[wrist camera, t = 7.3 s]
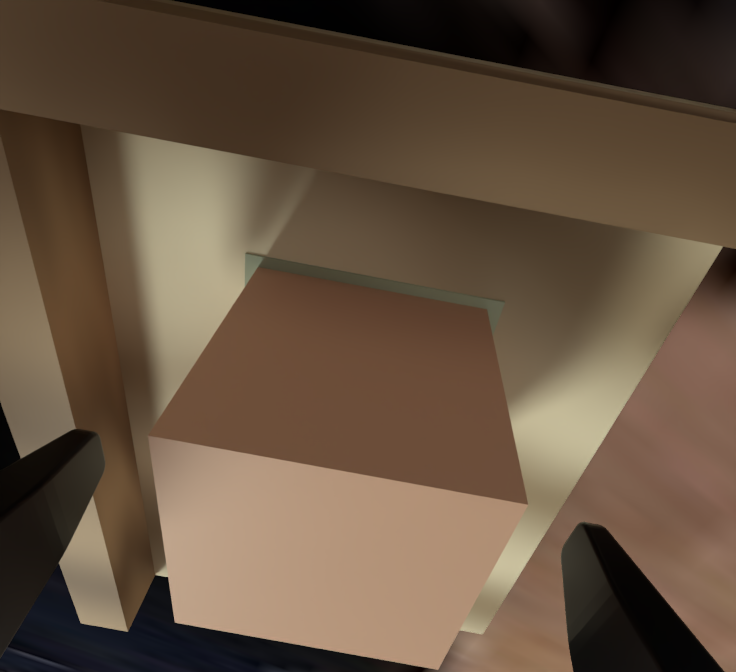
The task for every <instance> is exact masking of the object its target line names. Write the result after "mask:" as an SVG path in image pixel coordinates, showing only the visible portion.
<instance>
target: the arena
mask: <svg viewBox="0 0 736 672" xmlns="http://www.w3.org/2000/svg"><path fill="white" fill-rule="evenodd" d="M722 247H728V248H734V249H736V109H732V108H727V107H722V106H717V105H712V104H707V103H701V102H696V101H691V100H686V99H681V98H675V97H670V96H665V95H660V94H655V93H649V92H644V91H639V90H634V89H629V88H624V87H618V86H613V85H608V84H603V83H598V82H592V81H587V80H582V79H577V78H572V77H566V76H561V75H556V74H551V73H546V72H541V71H535V70H530V69H525V68H520V67H515V66H509V65H504V64H499V63H494V62H489V61H483V60H478V59H473V58H468V57H463V56H457V55H452V54H447V53H442V52H437V51H432V50H426V49H421V48H416V47H411V46H406V45H400V44H395V43H390V42H385V41H380V40H374V39H369V38H364V37H359V36H354V35H349V34H343V33H338V32H333V31H328V30H323V29H317V28H312V27H307V26H302V25H297V24H291V23H286V22H281V21H276V20H271V19H266V18H260V17H255V16H250V15H245V14H240V13H234V12H229V11H224V10H219V9H214V8H208V7H203V6H198V5H193V4H188V3H183V2H177V1H172V0H0V402H1V405H2V408H3V411H4V413H5V416H6V419H7V422H8V424H9V427H10V430H11V433H12V435H13V438H14V441H15V444H16V446H17V449H18V452H19V455H20V457H21V458H23V457H25V456H26V455H28V454H30V453H32V452H33V451H35V450H37V449H39V448H40V447H42V446H44V445H46V444H48V443H49V442H51V441H53V440H55V439H56V438H58V437H60V436H62V435H63V434H65V433H67V432H69V431H71V430H73V429H83V430H88V431H94V432H97V433H98V434H99V435H100V438H101V443H102V447H103V452H104V457H105V470H104V473H103V475H102V477H101V479H100V482H99V484H98V486H97V488H96V490H95V492H94V494H93V496H92V498H91V500H90V502H89V504H88V506H87V509H86V511H85V513H84V515H83V517H82V519H81V521H80V523H79V525H78V527H77V529H76V531H75V533H74V535H73V538H72V540H71V542H70V543H69V545H68V547H67V549H66V551H65V553H64V555H63V557H62V558H61V560H60V562H59V564H60V567H61V570H62V573H63V575H64V578H65V581H66V584H67V586H68V589H69V592H70V595H71V597H72V600H73V603H74V606H75V608H76V611H77V614H78V617H79V619H80V622H81V623H83V624H88V625H94V626H99V627H105V628H110V629H116V630H121V631H127V632H128V630H129V628H130V626H131V624H132V622H133V620H134V618H135V616H136V614H137V611H138V609H139V607H140V605H141V603H142V601H143V599H144V597H145V595H146V593H147V591H148V588H149V586H150V584H151V582H152V580H153V578H154V576H155V575H159V576H165V577H168V571H167V564H166V558H165V551H164V544H163V537H162V530H161V523H160V516H159V509H158V502H157V495H156V489H155V482H154V475H153V468H152V461H151V454H150V447H149V440H148V435H149V433H150V431H151V430H152V428H153V427H154V425H155V424H156V422H157V421H158V419H159V418H160V416H161V415H162V413H163V412H164V410H165V408H166V407H167V405H168V404H169V402H170V401H171V399H172V398H173V396H174V395H175V393H176V392H177V390H178V389H179V387H180V386H181V384H182V382H183V381H184V379H185V378H186V376H187V375H188V373H189V372H190V370H191V369H192V367H193V366H194V364H195V363H196V361H197V359H198V358H199V356H200V355H201V353H202V352H203V350H204V349H205V347H206V346H207V344H208V343H209V341H210V340H211V338H212V337H213V335H214V333H215V332H216V330H217V329H218V327H219V326H220V324H221V323H222V321H223V320H224V318H225V317H226V315H227V314H228V312H229V310H230V309H231V307H232V306H233V304H234V303H235V301H236V300H237V298H238V297H239V295H240V294H241V292H242V291H243V289H244V288H245V286H246V284H247V283H248V281H249V280H250V278H251V277H252V275H253V274H254V272H255V271H256V269H257V268H258V267H261V268H266V269H272V270H277V271H283V272H288V273H293V274H299V275H304V276H310V277H315V278H320V279H326V280H331V281H337V282H342V283H348V284H353V285H358V286H364V287H369V288H375V289H380V290H385V291H391V292H396V293H402V294H407V295H413V296H418V297H423V298H429V299H434V300H440V301H445V302H450V303H456V304H461V305H467V306H472V307H478V308H483V309H487V312H488V316H489V321H490V326H491V331H492V335H493V340H494V345H495V349H496V354H497V359H498V364H499V368H500V373H501V378H502V383H503V387H504V392H505V397H506V401H507V406H508V411H509V416H510V420H511V425H512V430H513V435H514V439H515V444H516V449H517V453H518V458H519V463H520V468H521V472H522V477H523V482H524V486H525V491H526V496H527V501H528V506H527V508H526V510H525V512H524V514H523V516H522V517H521V519H520V521H519V523H518V525H517V526H516V528H515V530H514V532H513V534H512V536H511V537H510V539H509V541H508V543H507V545H506V547H505V548H504V550H503V552H502V554H501V556H500V557H499V559H498V561H497V563H496V565H495V567H494V568H493V570H492V572H491V574H490V576H489V577H488V579H487V581H486V583H485V585H484V587H483V588H482V590H481V592H480V594H479V596H478V598H477V599H476V601H475V603H474V605H473V607H472V608H471V610H470V612H469V614H468V616H467V618H466V619H465V621H464V623H463V625H462V627H461V629H460V630H462V631H467V632H473V633H478V634H483V633H484V631H485V630H486V628H487V626H488V625H489V623H490V622H491V620H492V618H493V617H494V615H495V614H496V612H497V610H498V609H499V607H500V605H501V604H502V602H503V601H504V599H505V597H506V596H507V594H508V593H509V591H510V589H511V588H512V586H513V585H514V583H515V581H516V580H517V578H518V576H519V575H520V573H521V572H522V570H523V568H524V567H525V565H526V564H527V562H528V560H529V559H530V557H531V555H532V554H533V552H534V551H535V549H536V547H537V546H538V544H539V543H540V541H541V539H542V538H543V536H544V535H545V533H546V531H547V530H548V528H549V526H550V525H551V523H552V522H553V520H554V518H555V517H556V515H557V514H558V512H559V510H560V509H561V507H562V505H563V504H564V502H565V501H566V499H567V497H568V496H569V494H570V493H571V491H572V489H573V488H574V486H575V485H576V483H577V481H578V480H579V478H580V476H581V475H582V473H583V472H584V470H585V468H586V467H587V465H588V464H589V462H590V460H591V459H592V457H593V455H594V454H595V452H596V451H597V449H598V447H599V446H600V444H601V443H602V441H603V439H604V438H605V436H606V435H607V433H608V431H609V430H610V428H611V426H612V425H613V423H614V422H615V420H616V418H617V417H618V415H619V414H620V412H621V410H622V409H623V407H624V405H625V404H626V402H627V401H628V399H629V397H630V396H631V394H632V393H633V391H634V389H635V388H636V386H637V385H638V383H639V381H640V380H641V378H642V376H643V375H644V373H645V372H646V370H647V368H648V367H649V365H650V364H651V362H652V360H653V359H654V357H655V355H656V354H657V352H658V351H659V349H660V347H661V346H662V344H663V343H664V341H665V339H666V338H667V336H668V335H669V333H670V331H671V330H672V328H673V326H674V325H675V323H676V322H677V320H678V318H679V317H680V315H681V314H682V312H683V310H684V309H685V307H686V305H687V304H688V302H689V301H690V299H691V297H692V296H693V294H694V293H695V291H696V289H697V288H698V286H699V285H700V283H701V281H702V280H703V278H704V276H705V275H706V273H707V272H708V270H709V268H710V267H711V265H712V264H713V262H714V260H715V259H716V257H717V255H718V254H719V252H720V251H721V249H722Z"/></svg>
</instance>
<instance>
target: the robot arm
mask: <svg viewBox="0 0 736 672" xmlns="http://www.w3.org/2000/svg"><path fill="white" fill-rule="evenodd" d="M104 470H105V457H104V452H103V447H102V443H101V438H100V435H99V434H98V433H97V432H94V431H88V430H83V429H73V430H71V431H69V432H67V433H65V434H63V435H62V436H60V437H58V438H56V439H55V440H53V441H51V442H49V443H48V444H46V445H44V446H42V447H40V448H39V449H37V450H35V451H33V452H32V453H30V454H28V455H26V456H25V457H23V458H21V459H19V460H18V461H16V462H14V463H12V464H11V465H9V466H7V467H5V468H4V469H2V470H0V658H1V656H2V654H3V653H4V651H5V650H6V648H7V646H8V645H9V643H10V641H11V640H12V638H13V637H14V635H15V633H16V632H17V630H18V628H19V627H20V625H21V624H22V622H23V620H24V619H25V617H26V615H27V614H28V612H29V611H30V609H31V607H32V606H33V604H34V602H35V601H36V599H37V598H38V596H39V594H40V593H41V591H42V589H43V588H44V586H45V585H46V583H47V581H48V580H49V578H50V576H51V575H52V573H53V572H54V570H55V568H56V567H57V565H58V563H59V562H60V560H61V558H62V557H63V555H64V553H65V551H66V549H67V547H68V545H69V543H70V542H71V540H72V538H73V535H74V533H75V531H76V529H77V527H78V525H79V523H80V521H81V519H82V517H83V515H84V513H85V511H86V509H87V506H88V504H89V502H90V500H91V498H92V496H93V494H94V492H95V490H96V488H97V486H98V484H99V482H100V479H101V477H102V475H103V473H104ZM561 564H562V575H563V587H564V599H565V611H566V623H567V633H568V642H569V649H570V655H571V661H572V666H573V671H574V672H724V671H723V669H722V668H721V667H720V666H719V665H718V663H717V662H716V661H715V660H714V659H713V657H712V656H711V655H710V654H709V652H708V651H707V650H706V649H705V648H704V646H703V645H702V644H701V643H700V642H699V640H698V639H697V638H696V637H695V635H694V634H693V633H692V632H691V631H690V629H689V628H688V627H687V626H686V625H685V623H684V622H683V621H682V620H681V619H680V617H679V616H678V615H677V614H676V612H675V611H674V610H673V609H672V608H671V606H670V605H669V604H668V603H667V602H666V600H665V599H664V598H663V597H662V595H661V594H660V593H659V592H658V591H657V589H656V588H655V587H654V586H653V585H652V583H651V582H650V581H649V580H648V579H647V577H646V576H645V575H644V574H643V572H642V571H641V570H640V569H639V568H638V566H637V565H636V564H635V563H634V562H633V560H632V559H631V558H630V557H629V555H628V554H627V553H626V552H625V551H624V549H623V548H622V547H621V546H620V545H619V543H618V542H617V541H616V540H615V539H614V537H613V536H612V535H611V534H610V532H609V531H608V530H607V529H606V528H605V527H603V526H601V525H598V524H592V523H587V522H581V523H579V524H578V525H577V526H576V528H575V529H574V531H573V532H572V533H571V535H570V536H569V538H568V539H567V541H566V542H565V544H564V546H563V548H562V552H561Z"/></svg>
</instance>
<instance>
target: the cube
mask: <svg viewBox="0 0 736 672" xmlns="http://www.w3.org/2000/svg"><path fill="white" fill-rule="evenodd" d="M148 440H149V447H150V454H151V461H152V468H153V475H154V482H155V489H156V495H157V502H158V509H159V516H160V523H161V530H162V537H163V544H164V551H165V558H166V564H167V571H168V578H169V585H170V592H171V599H172V606H173V613H174V620H175V623H181V624H186V625H192V626H197V627H203V628H208V629H214V630H220V631H225V632H231V633H236V634H242V635H247V636H253V637H259V638H264V639H270V640H275V641H281V642H286V643H292V644H298V645H303V646H309V647H314V648H320V649H326V650H331V651H337V652H342V653H348V654H353V655H359V656H365V657H370V658H376V659H381V660H387V661H392V662H398V663H404V664H409V665H415V666H420V667H426V668H431V669H437V670H438V669H439V667H440V665H441V663H442V661H443V660H444V658H445V656H446V654H447V652H448V650H449V649H450V647H451V645H452V643H453V641H454V639H455V638H456V636H457V634H458V632H459V630H460V629H461V627H462V625H463V623H464V621H465V619H466V618H467V616H468V614H469V612H470V610H471V608H472V607H473V605H474V603H475V601H476V599H477V598H478V596H479V594H480V592H481V590H482V588H483V587H484V585H485V583H486V581H487V579H488V577H489V576H490V574H491V572H492V570H493V568H494V567H495V565H496V563H497V561H498V559H499V557H500V556H501V554H502V552H503V550H504V548H505V547H506V545H507V543H508V541H509V539H510V537H511V536H512V534H513V532H514V530H515V528H516V526H517V525H518V523H519V521H520V519H521V517H522V516H523V514H524V512H525V510H526V508H527V506H528V501H527V496H526V491H525V486H524V482H523V477H522V472H521V468H520V463H519V458H518V453H517V449H516V444H515V439H514V435H513V430H512V425H511V420H510V416H509V411H508V406H507V401H506V397H505V392H504V387H503V383H502V378H501V373H500V368H499V364H498V359H497V354H496V349H495V345H494V340H493V335H492V331H491V326H490V321H489V316H488V312H487V309H483V308H478V307H472V306H467V305H461V304H456V303H450V302H445V301H440V300H434V299H429V298H423V297H418V296H413V295H407V294H402V293H396V292H391V291H385V290H380V289H375V288H369V287H364V286H358V285H353V284H348V283H342V282H337V281H331V280H326V279H320V278H315V277H310V276H304V275H299V274H293V273H288V272H283V271H277V270H272V269H266V268H261V267H258V268H257V269H256V271H255V272H254V274H253V275H252V277H251V278H250V280H249V281H248V283H247V284H246V286H245V288H244V289H243V291H242V292H241V294H240V295H239V297H238V298H237V300H236V301H235V303H234V304H233V306H232V307H231V309H230V310H229V312H228V314H227V315H226V317H225V318H224V320H223V321H222V323H221V324H220V326H219V327H218V329H217V330H216V332H215V333H214V335H213V337H212V338H211V340H210V341H209V343H208V344H207V346H206V347H205V349H204V350H203V352H202V353H201V355H200V356H199V358H198V359H197V361H196V363H195V364H194V366H193V367H192V369H191V370H190V372H189V373H188V375H187V376H186V378H185V379H184V381H183V382H182V384H181V386H180V387H179V389H178V390H177V392H176V393H175V395H174V396H173V398H172V399H171V401H170V402H169V404H168V405H167V407H166V408H165V410H164V412H163V413H162V415H161V416H160V418H159V419H158V421H157V422H156V424H155V425H154V427H153V428H152V430H151V431H150V433H149V435H148Z"/></svg>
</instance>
